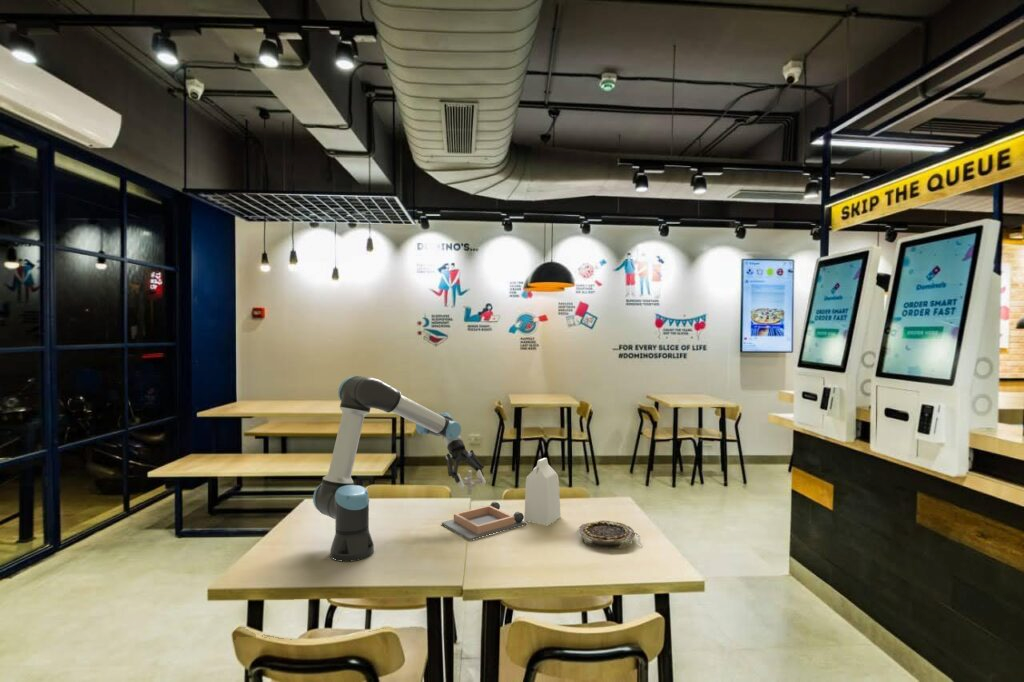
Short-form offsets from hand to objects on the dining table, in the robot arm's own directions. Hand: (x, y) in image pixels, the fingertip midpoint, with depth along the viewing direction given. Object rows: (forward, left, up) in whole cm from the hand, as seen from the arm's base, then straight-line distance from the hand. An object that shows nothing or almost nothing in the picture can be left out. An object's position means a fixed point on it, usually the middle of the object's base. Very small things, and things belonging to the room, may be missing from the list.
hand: (473, 486), depth 217 cm
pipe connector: (0, +3, -4) cm, 5 cm away
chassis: (+1, -6, -15) cm, 16 cm away
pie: (+30, -48, -16) cm, 59 cm away
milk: (+25, -16, -15) cm, 34 cm away
